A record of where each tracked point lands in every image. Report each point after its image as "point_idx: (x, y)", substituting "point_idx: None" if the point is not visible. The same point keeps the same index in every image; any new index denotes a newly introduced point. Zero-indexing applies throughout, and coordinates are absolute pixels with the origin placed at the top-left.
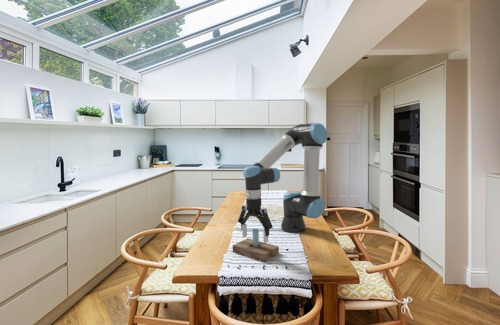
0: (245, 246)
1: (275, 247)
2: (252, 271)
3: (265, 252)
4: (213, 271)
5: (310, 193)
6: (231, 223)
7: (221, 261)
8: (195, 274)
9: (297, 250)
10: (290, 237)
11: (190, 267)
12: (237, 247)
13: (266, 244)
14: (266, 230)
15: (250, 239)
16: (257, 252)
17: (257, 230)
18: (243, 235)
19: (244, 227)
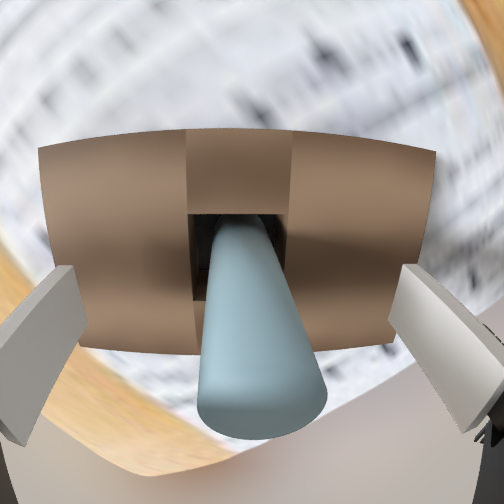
0: (168, 317)
1: (423, 185)
2: (351, 393)
3: (388, 311)
4: (208, 452)
5: None
6: None
7: (156, 407)
8: (179, 471)
9: (460, 47)
10: None
11: (122, 455)
12: (128, 347)
13: (319, 161)
14: (495, 402)
15: (76, 152)
16: (334, 344)
17: (321, 405)
18: (78, 337)
19: (28, 392)
